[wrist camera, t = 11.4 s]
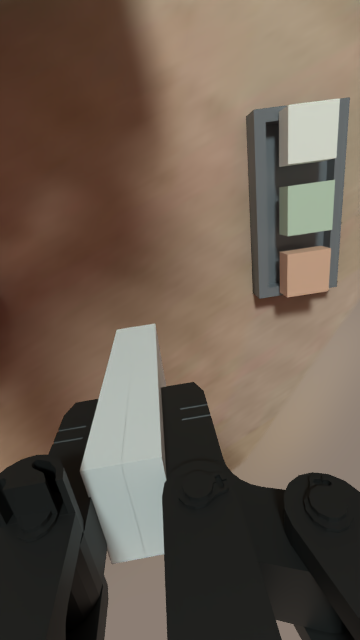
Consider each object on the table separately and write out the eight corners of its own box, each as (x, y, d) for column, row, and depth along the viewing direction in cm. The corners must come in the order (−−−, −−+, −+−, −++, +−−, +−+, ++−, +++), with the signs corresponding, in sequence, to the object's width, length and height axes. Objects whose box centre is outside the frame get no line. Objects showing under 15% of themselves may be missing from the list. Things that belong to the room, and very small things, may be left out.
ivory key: (273, 116, 31) (288, 104, 28) (319, 110, 31) (339, 98, 28) (273, 168, 33) (288, 164, 30) (317, 162, 33) (336, 157, 30)
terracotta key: (274, 250, 36) (287, 254, 33) (314, 244, 37) (331, 248, 33) (274, 289, 38) (287, 297, 35) (312, 283, 38) (328, 291, 35)
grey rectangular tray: (246, 116, 32) (253, 109, 30) (335, 105, 32) (349, 97, 30) (253, 293, 39) (259, 298, 37) (325, 281, 40) (336, 286, 38)
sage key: (273, 188, 34) (287, 186, 30) (316, 182, 34) (335, 179, 31) (274, 233, 36) (287, 236, 32) (314, 227, 36) (332, 229, 32)
